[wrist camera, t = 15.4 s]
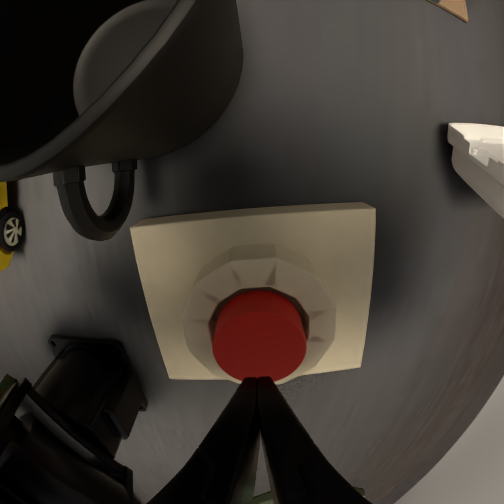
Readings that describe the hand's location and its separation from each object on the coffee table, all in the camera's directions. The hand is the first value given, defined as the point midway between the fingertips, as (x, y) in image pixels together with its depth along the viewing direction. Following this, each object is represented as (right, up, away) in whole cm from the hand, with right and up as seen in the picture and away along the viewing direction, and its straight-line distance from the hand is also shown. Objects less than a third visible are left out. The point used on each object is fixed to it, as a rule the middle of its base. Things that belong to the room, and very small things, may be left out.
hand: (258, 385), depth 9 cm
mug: (-5, +12, +3) cm, 14 cm away
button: (0, +1, +3) cm, 3 cm away
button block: (0, +2, +6) cm, 7 cm away
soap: (+14, +10, 0) cm, 17 cm away
